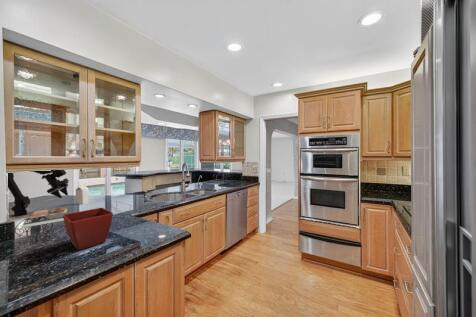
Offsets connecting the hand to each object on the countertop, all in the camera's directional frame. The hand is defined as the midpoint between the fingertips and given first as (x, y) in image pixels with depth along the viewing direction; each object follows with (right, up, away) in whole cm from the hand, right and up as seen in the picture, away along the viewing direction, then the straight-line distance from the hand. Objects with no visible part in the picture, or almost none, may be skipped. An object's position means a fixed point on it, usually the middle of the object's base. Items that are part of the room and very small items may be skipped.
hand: (64, 196), depth 168 cm
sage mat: (0, -15, -14) cm, 20 cm away
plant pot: (+60, -17, -53) cm, 82 cm away
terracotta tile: (-14, -13, -6) cm, 20 cm away
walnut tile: (-6, -13, +1) cm, 14 cm away
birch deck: (-10, -14, -3) cm, 18 cm away
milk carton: (-6, -13, +27) cm, 31 cm away
